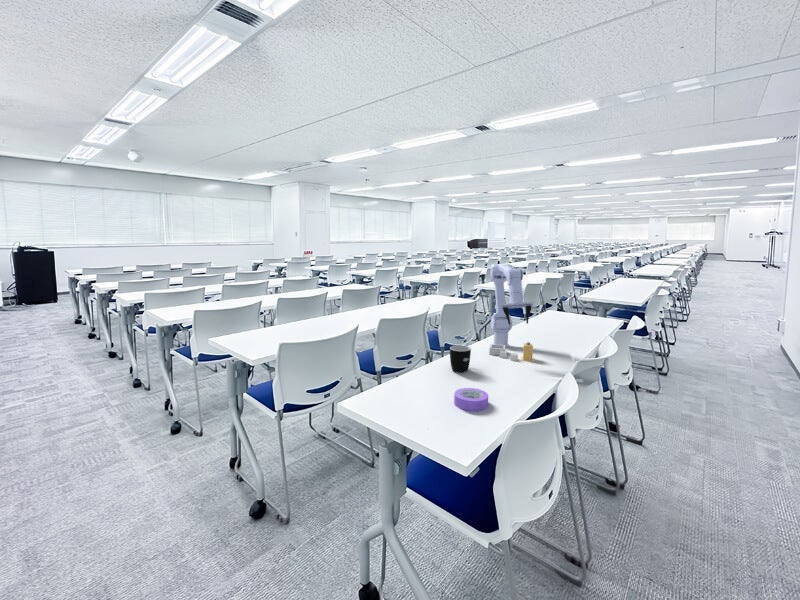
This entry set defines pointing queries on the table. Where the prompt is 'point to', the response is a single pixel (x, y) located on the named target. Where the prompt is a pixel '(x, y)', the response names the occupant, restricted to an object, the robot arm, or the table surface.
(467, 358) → the mug
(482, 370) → the table surface
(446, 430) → the table surface
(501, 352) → the cable board
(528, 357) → the connector plug
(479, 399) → the masking tape
